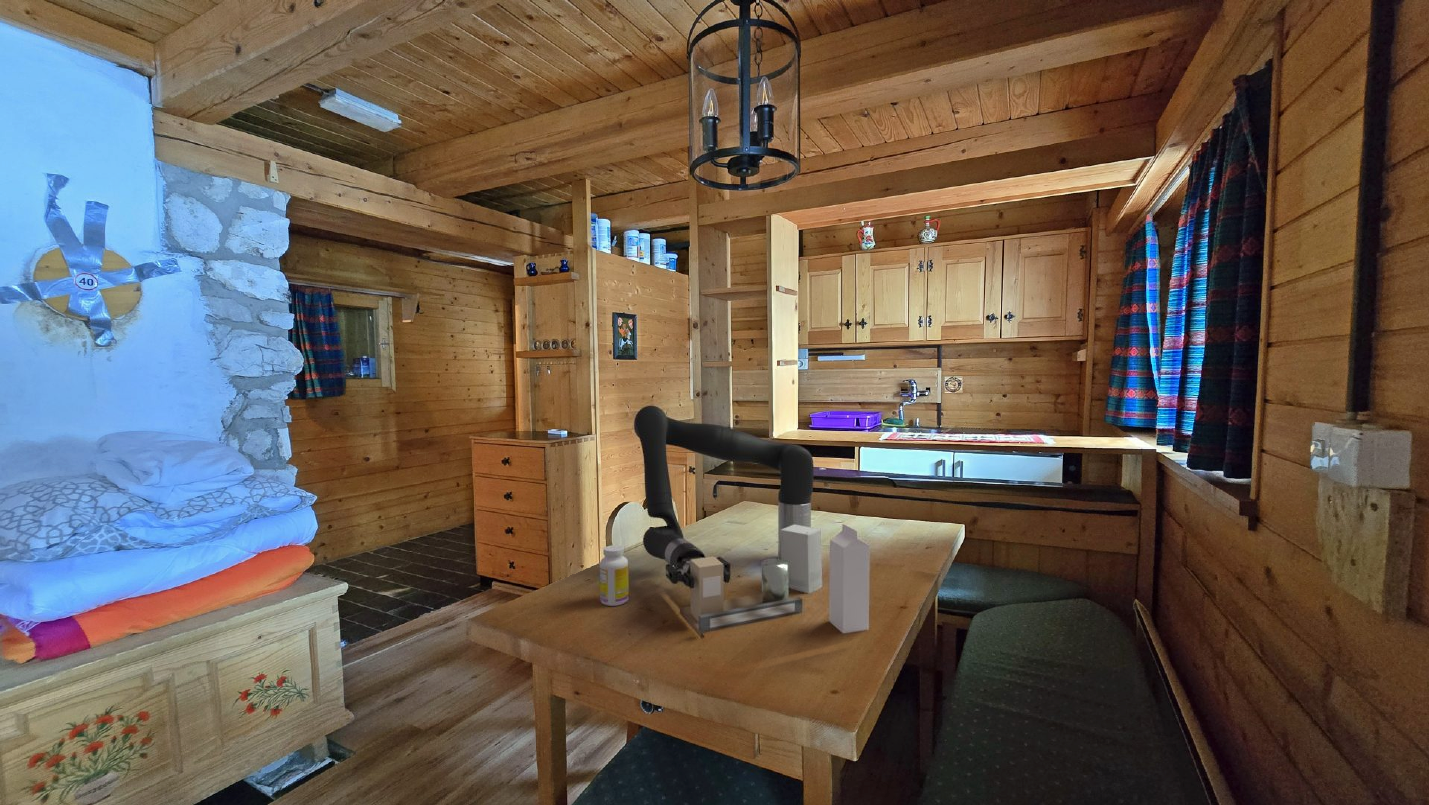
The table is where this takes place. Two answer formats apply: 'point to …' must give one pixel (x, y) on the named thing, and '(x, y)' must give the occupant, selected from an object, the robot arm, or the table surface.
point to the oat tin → (774, 580)
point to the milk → (849, 581)
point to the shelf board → (742, 612)
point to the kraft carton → (706, 586)
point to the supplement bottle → (614, 576)
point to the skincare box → (802, 557)
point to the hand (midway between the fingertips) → (710, 581)
